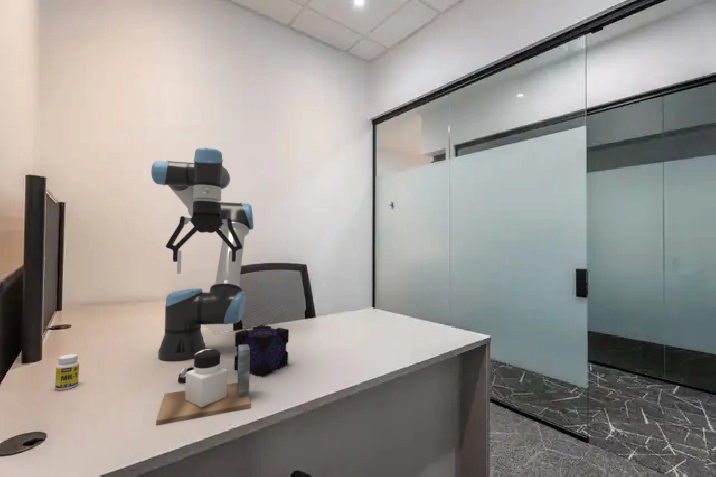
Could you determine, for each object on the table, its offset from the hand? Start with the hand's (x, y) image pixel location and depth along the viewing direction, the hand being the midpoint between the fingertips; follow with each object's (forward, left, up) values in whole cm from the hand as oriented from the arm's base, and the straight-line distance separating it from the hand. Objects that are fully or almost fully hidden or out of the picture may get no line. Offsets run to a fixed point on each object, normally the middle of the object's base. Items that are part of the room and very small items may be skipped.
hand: (205, 273), depth 95 cm
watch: (-5, 0, -32) cm, 33 cm away
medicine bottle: (+11, -9, -31) cm, 34 cm away
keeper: (+11, -9, -32) cm, 35 cm away
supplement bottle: (-31, -17, -32) cm, 48 cm away
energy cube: (+9, +16, -32) cm, 37 cm away
